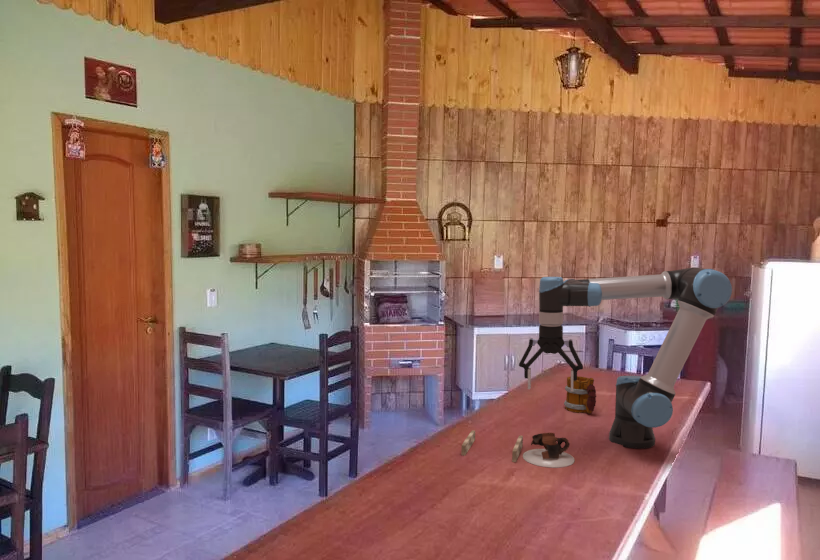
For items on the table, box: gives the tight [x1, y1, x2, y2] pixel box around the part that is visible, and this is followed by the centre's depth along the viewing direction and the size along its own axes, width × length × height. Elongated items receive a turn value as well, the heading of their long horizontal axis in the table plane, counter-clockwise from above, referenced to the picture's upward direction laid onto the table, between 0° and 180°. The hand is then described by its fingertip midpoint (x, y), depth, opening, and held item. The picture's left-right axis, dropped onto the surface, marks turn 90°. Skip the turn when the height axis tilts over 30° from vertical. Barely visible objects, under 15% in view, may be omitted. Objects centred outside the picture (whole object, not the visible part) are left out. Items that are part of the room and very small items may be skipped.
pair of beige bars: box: [461, 429, 524, 463], centre depth 206 cm, size 16×17×4 cm
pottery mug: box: [530, 432, 571, 459], centre depth 202 cm, size 12×9×8 cm
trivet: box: [522, 448, 575, 469], centre depth 200 cm, size 16×16×1 cm
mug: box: [563, 375, 597, 415], centre depth 253 cm, size 11×16×15 cm, turn 18°
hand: (550, 389), depth 204 cm, fingers open, 13 cm apart
